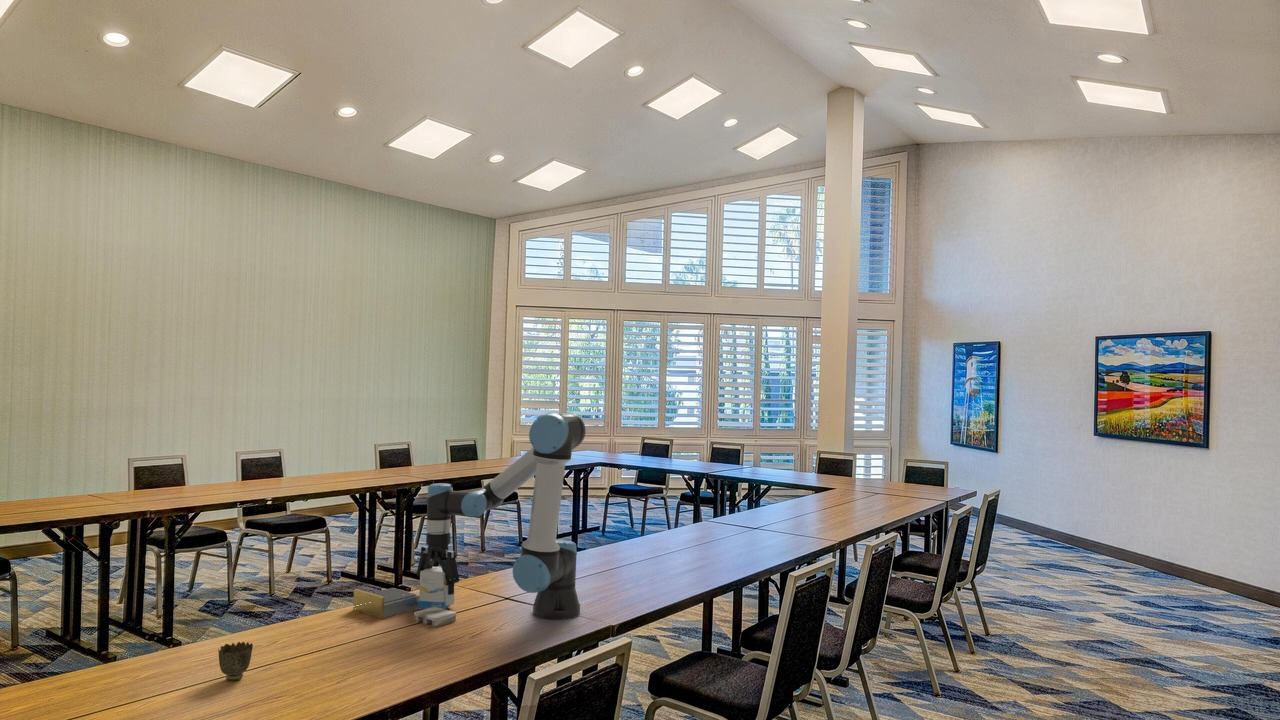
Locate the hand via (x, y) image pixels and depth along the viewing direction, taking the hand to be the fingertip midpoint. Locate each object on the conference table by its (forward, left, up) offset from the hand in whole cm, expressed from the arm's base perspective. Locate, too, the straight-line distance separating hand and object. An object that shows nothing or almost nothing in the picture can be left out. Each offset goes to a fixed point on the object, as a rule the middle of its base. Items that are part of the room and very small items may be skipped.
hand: (437, 601), depth 248 cm
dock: (+12, +9, -2) cm, 16 cm away
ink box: (0, 0, -2) cm, 2 cm away
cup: (-8, +69, -3) cm, 70 cm away
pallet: (-9, +8, -2) cm, 12 cm away
